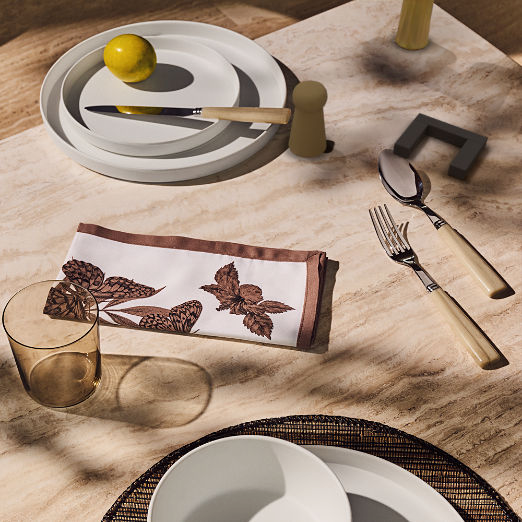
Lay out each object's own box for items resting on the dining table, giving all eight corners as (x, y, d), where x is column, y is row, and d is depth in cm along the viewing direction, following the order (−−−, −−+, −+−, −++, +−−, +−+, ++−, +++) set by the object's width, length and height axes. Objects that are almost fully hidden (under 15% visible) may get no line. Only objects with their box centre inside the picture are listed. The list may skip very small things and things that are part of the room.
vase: (409, 28, 130) (421, -46, 119) (434, 41, 127) (450, -34, 116) (388, 40, 127) (398, -34, 116) (414, 54, 124) (427, -22, 113)
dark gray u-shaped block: (485, 147, 107) (488, 137, 105) (462, 180, 102) (465, 170, 100) (417, 122, 111) (419, 112, 110) (392, 153, 106) (394, 143, 105)
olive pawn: (309, 162, 105) (313, 104, 97) (280, 146, 108) (281, 87, 99) (334, 144, 108) (339, 85, 99) (305, 127, 111) (307, 69, 102)
